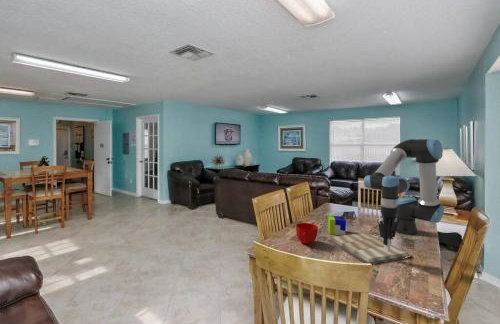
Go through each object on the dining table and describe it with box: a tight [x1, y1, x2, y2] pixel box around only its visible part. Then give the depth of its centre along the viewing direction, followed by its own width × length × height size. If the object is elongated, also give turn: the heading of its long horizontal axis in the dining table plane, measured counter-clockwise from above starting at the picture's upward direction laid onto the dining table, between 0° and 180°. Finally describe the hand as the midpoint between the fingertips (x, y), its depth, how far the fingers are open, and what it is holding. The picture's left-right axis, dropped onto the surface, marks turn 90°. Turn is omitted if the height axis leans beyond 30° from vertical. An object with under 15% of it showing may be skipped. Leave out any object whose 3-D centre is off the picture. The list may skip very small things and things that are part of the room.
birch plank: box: [355, 244, 409, 263], centre depth 136 cm, size 26×10×2 cm, turn 108°
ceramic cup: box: [295, 222, 319, 245], centre depth 152 cm, size 13×17×10 cm
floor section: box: [327, 232, 414, 265], centre depth 146 cm, size 30×33×2 cm
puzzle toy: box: [327, 215, 347, 236], centre depth 172 cm, size 10×10×10 cm
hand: (386, 250), depth 133 cm, fingers closed
